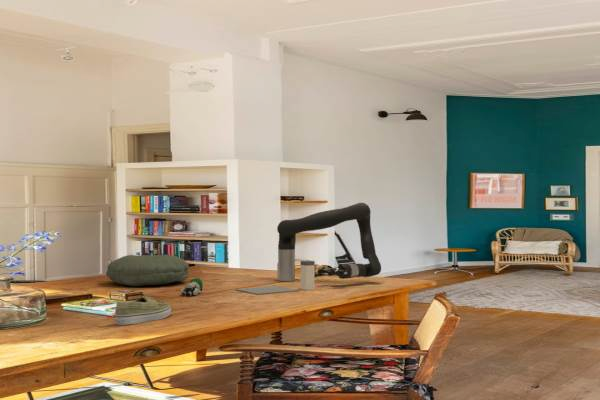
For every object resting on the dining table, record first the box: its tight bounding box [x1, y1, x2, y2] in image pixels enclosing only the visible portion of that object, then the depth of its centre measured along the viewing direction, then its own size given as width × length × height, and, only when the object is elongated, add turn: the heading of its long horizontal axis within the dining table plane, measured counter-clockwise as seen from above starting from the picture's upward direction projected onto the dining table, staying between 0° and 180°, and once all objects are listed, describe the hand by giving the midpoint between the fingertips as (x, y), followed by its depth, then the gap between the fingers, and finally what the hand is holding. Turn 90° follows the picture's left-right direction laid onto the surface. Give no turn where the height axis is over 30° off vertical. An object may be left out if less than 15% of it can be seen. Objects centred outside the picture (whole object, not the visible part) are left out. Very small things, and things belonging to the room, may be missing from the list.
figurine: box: [315, 264, 334, 277], centre depth 430 cm, size 19×6×30 cm
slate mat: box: [235, 285, 300, 296], centre depth 360 cm, size 20×24×1 cm
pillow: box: [105, 254, 190, 287], centre depth 388 cm, size 43×15×41 cm
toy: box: [180, 277, 203, 298], centre depth 345 cm, size 9×7×15 cm
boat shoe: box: [114, 295, 172, 326], centre depth 275 cm, size 10×29×9 cm, turn 155°
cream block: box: [299, 259, 316, 291], centre depth 366 cm, size 5×5×14 cm
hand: (323, 272), depth 372 cm, fingers open, 8 cm apart
